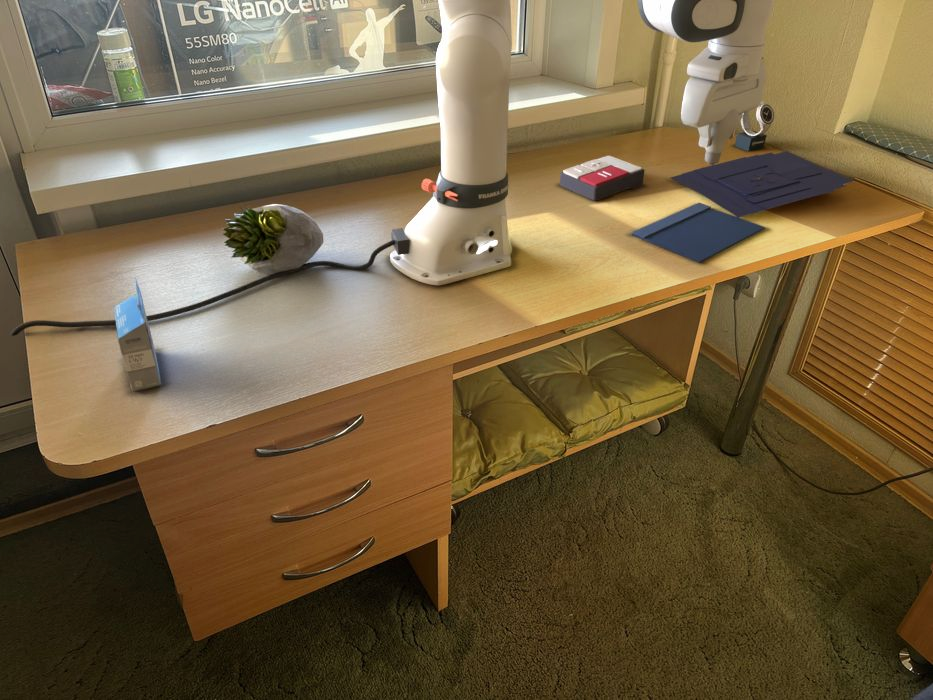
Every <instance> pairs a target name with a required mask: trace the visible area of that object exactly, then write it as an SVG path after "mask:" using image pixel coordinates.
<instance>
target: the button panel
mask: <svg viewBox="0 0 933 700" xmlns="http://www.w3.org/2000/svg"><path fill="white" fill-rule="evenodd" d="M645 171H646V170H645V169H644V168H643V167H641V166H639V165H636V164H633V163H630V162H627V161H625V160H622V159H619V158H617V157H614V156H612V155H605V156H602V157H599V158H597V159H596V158H594V159H592V160H588V161H585V162H583V163H581V164H577V165H574V166H571V167H568V168H566V169H563V171H561V172H559V186H560V187H562V188H564V189H567V190H569V191H571V192H573V193H575V194H578V195H580V196H582V197H584V198H587V199H590V200H592V201H595V202H597V201H599V200H601V199H604V198H607V197H609V196H612V195H614V194H617V193H620V192H622V191H625V190H628V189H630V190H634V189H636V188H639V187H642V186H643V185H644V178H645Z"/></svg>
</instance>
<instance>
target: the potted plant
mask: <svg viewBox="0 0 933 700" xmlns="http://www.w3.org/2000/svg"><path fill="white" fill-rule="evenodd" d="M243 206H244V208H245V209H244V208H242V207H239V209H240V211H241V212H242V214H240V213H232V216H234V219H233V218H232V219H226V218H224V221H225V222H226V225H227V226H228V227H224V228H222V231H225V232H223V233H222V235H223V236H225V237H226V238H227V239H226V240H225V241H224V242H223V243H224V246H226V247H227V248H230V249H234V250H232V251H231V253H232V256H230V258H231V259H232V258H240V261H242V262H243V264H244V265H247V266H248V267H250V269H252V270H255V271H256V272H258V273H260V274H263V275H265V276H269V275H272V274H274V273H278V272H282V271H287V270H292V269H296V268H300V267H301V266H302V265H303V264H305V263H308V261H310V260H311V259H312V258H313V257H314V256H315V255H316V254H317V252H318V251H319V249H320V248H321V247H322V245H323V244H324V233H323V231H322V229H321V228H320V227H319V225H318V223H317V222H316V221H315V220H314V219H313V218H312V216H310V215H309V214H307V213H306V212H304V211H302V210H301V209H299V208H297V207H293V206H290V205H285V204H278V203H272V204H268V205H262V206H258V207H254V208H249V207H248V206H245V205H243Z"/></svg>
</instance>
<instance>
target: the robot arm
mask: <svg viewBox="0 0 933 700" xmlns="http://www.w3.org/2000/svg"><path fill="white" fill-rule="evenodd" d="M775 1H776V0H637V6H638V12H639V16H640V18H641V20H642V21H643V23H644V24H645V25H646V26H647V28H650V29H651V30H653V31H656V32H659V33H664V34H665V35H668V36H670V37H673V38H675V39H677V40H679V41H683V42H686V43H702V42H707V41H708V43H707V46H706V47H704V49H702V51H701V52H700V53H699V54H697V56H695V57H694V58H693V59H691V61H689V62H688V64H687V68H686V75H687V76H690V77H689V78H688V79H687V82H686V84H685V88H684V92H683V96H682V97H683V98H682V102H681V103H682V104H681V110H680V119H681V122H682V124H683V125H685V126H689V127H692V128H696V129H697V130H698V134H699V139H698V146H699V147H700V148H704V149H705V148H707V147H709V146H711V145H712V141H713V136H711V129H712V128H713V124H714V123H715V122H717V121H720V120H723V119H724V118H725V117H726V115H727V114H728V113H729V111H730V110H732V109H736V110H737V112H738V116H739V122H738V125H737V127H738V126H739V124H740V123H741V119H742V115H743V113H744V112H746V111H748V112H750V111H752V110H755V109H757V107H758V106H759V105H760V103H761V101H763V96H764V91H765V85H766V77H767V70H766V69H767V68H766V66H765V61H766V60H765V58H764V56H763V55H764V50H765V46H766V40H767V39H766V37H767V36H766V30H767V26H768V22H769V21H770V19H771V17H772V14H773V11H774V6H775ZM438 6H439V14H440V23H441V32H442V33H441V40H440V42H439V44H438V47H437V50H436V54H435V55H436V56H435V68H436V69H435V70H436V71H435V72H436V89H437V90H436V91H437V101H438V102H437V104H438V113H439V123H440V169H441V170H440V172H439V173H438V176H437V179H436V181H433V180H431V179H430V178H425V179H423V180H422V182H421V184H420V185H421V189H422V190H423V191H424V192H428V193H429V194H432V197H431V198H430V200H429V201H428V202H427V203H426V204H425V205H424V207H422V209H420V211H419V212H418V213H417V214H416V215H415V216H414V217H413V218H412V219H411V220H410V222H409V223H408V224H406V226H405V229H403V227H402V228H401V227H400V228H391V229H390V235H391V237H390V238H391V240H390V241H387V242H385V243H383V244H381V245H379V246H378V247H377V248H376V249H374V250H373V251H372V253H371V255H370V257H369V260H368V261H367V262H366V263H364V264H360V265H349V264H344V263H340V262H336V261H330V260H316V261H310V262H306V263H305V264H303V265H302V266H301V267H300V268H296V269H292V270H287V271H282V272H278V273H274V274H272V275H268V276H267V275H265V276H264V277H261V278H258V279H256V280H254V281H251V282H249V283H245V284H244V285H242V286H239V287H236V288H234V289H230V290H228V291H226V292H223V293H220V294H218V295H215V296H213V297H210V298H208V299H205V300H202V301H199V302H195V303H193V304H189V305H186V306H183V307H179V308H175V309H171V310H168V311H164V312H159V313H154V314H150V315H146V316H147V320H148V322H151V321H156V320H162V319H166V318H170V317H174V316H177V315H181V314H185V313H188V312H191V311H194V310H197V309H200V308H203V307H206V306H208V305H209V306H210V305H211V304H214V303H216V302H219V301H222V300H224V299H227V298H230V297H232V296H235V295H238V294H240V293H243V292H245V291H248V290H250V289H252V288H254V287H257V286H259V285H262V284H264V283H267V282H269V281H273V280H275V279H278V278H281V277H283V276H286V275H289V274H292V273H295V272H298V271H300V270H301V271H302V270H304V269H309V268H314V267H321V266H323V267H333V268H337V269H345V270H352V271H364V270H366V269H369V268H371V267H372V266H373V264H374V262H375V259H376V257H377V256H378V255H379V254H380V253H381V252H382V251H384V250H386V249H388V248H390V247H392V246H393V248H394V250H393V251H391V252H390V254H389V261H390V263H391V265H392V266H393V267H394V268H395V269H397V270H398V271H399V272H400V273H402V274H404V276H407V277H409V278H410V279H412V280H414V281H417V282H420V283H423V284H426V285H431V286H437V287H438V286H444V285H447V284H448V285H449V284H451V283H455V282H458V281H463V280H466V279H469V278H474V277H477V276H480V275H481V276H482V275H485V274H489V273H492V272H495V271H498V270H503V269H506V268H509V267H511V266H512V258H511V254H512V252H513V246H512V243H511V239H510V234H509V227H508V226H509V225H508V215H507V197H508V195H509V185H510V184H509V173H508V171H507V162H508V157H507V156H508V137H509V135H508V134H509V105H510V102H509V101H510V80H511V79H510V77H511V62H512V61H511V60H512V50H513V36H512V33H513V32H512V10H511V8H512V7H511V0H438ZM736 130H737V128H736V129H735V130H734V132H733V133H732V134H731V136H730V137H729V138H728V140H730V139H733V138H734V137H735V135H736V134H735V133H736ZM111 326H116V319H109V320H108V319H107V320H84V321H83V320H82V321H57V320H44V319H43V320H42V319H40V320H39V319H38V320H37V319H36V320H29V321H25V322H23V323H21V324H19V325H18V326H17V325H16V327H15V328H14V329H12V331H11V332H10V334H9V335H10V337H14V336H17V335H19V334H20V333H21V332H22V331H23V330H25V329H29V328H32V327H54V328H86V327H87V328H88V327H89V328H90V327H111Z"/></svg>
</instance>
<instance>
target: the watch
mask: <svg viewBox="0 0 933 700" xmlns="http://www.w3.org/2000/svg"><path fill="white" fill-rule="evenodd" d="M755 116H756V117H755V118H756V120H757V122H758V124H759V128H760V130H759V131H756V130H752V129H751V123H750V122H751V121H750V114H749V111H746V112H744V113H743V115H742V119H741V121H740V125H741V130H742V131H744V132H739V133H737V134H736V137H735V143H734V147H736V148H738V149H741V150H745V151H747V152H750V151H755V150H759V149H762V148H764V147H765V143H766V140H767V134H765V133H766V132H768V130H769V129H770V128H771V126H772V123H773V122H774V120H775V112H774V109H773V107H772V106H771V105H770V104H768V102H765V101H764V100H762V101H761V103H760V105H759V106H758V107H757V108H756V113H755Z"/></svg>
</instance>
